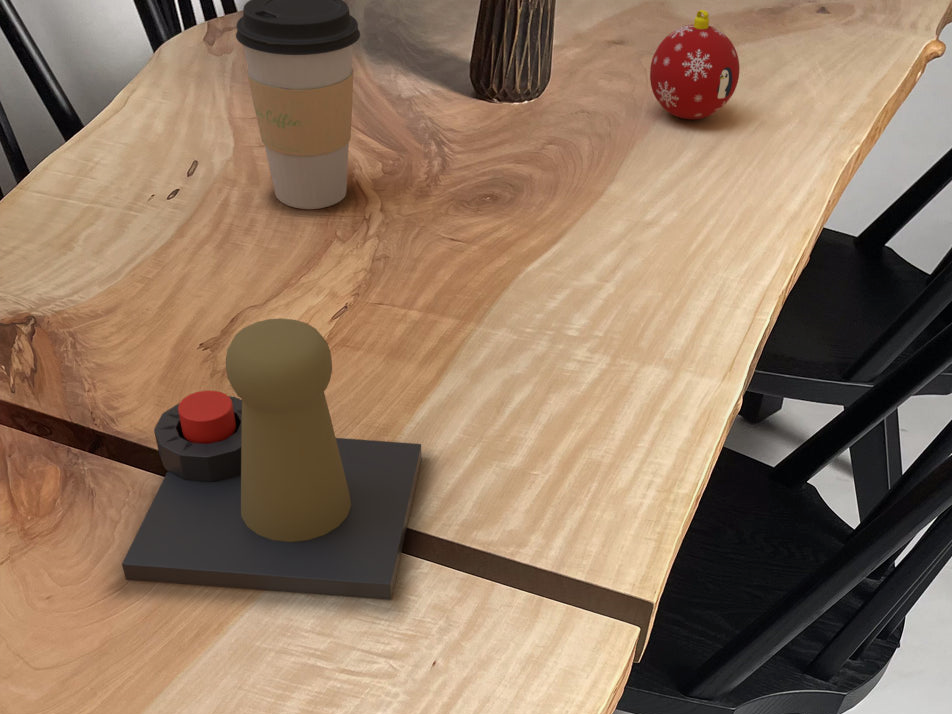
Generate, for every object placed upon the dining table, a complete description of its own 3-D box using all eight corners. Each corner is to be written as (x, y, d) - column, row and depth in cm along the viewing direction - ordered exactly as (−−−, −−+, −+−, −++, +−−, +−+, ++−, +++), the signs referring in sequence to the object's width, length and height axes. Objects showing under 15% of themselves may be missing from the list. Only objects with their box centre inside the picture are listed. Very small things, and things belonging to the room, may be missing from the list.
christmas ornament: (694, 95, 114) (709, -8, 108) (749, 123, 109) (768, 17, 102) (627, 108, 111) (639, 3, 104) (681, 139, 105) (696, 30, 99)
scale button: (176, 443, 62) (170, 418, 61) (191, 412, 65) (186, 388, 63) (228, 447, 62) (224, 422, 61) (241, 416, 64) (238, 391, 63)
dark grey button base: (107, 579, 58) (95, 536, 56) (181, 432, 67) (173, 391, 65) (391, 600, 57) (389, 558, 55) (423, 449, 67) (422, 409, 65)
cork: (231, 482, 62) (203, 312, 55) (336, 462, 64) (322, 294, 57) (251, 552, 58) (223, 377, 51) (363, 528, 60) (351, 355, 52)
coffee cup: (236, 209, 90) (211, 18, 81) (281, 164, 97) (263, -17, 88) (345, 226, 89) (332, 32, 79) (383, 179, 96) (375, -4, 86)
